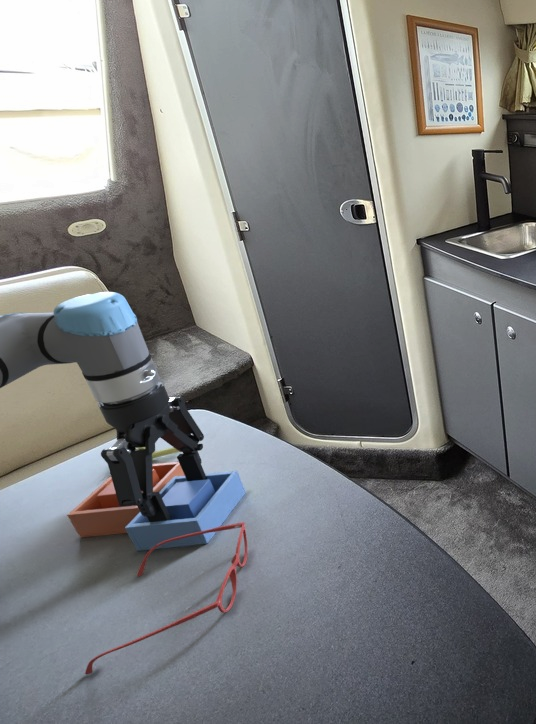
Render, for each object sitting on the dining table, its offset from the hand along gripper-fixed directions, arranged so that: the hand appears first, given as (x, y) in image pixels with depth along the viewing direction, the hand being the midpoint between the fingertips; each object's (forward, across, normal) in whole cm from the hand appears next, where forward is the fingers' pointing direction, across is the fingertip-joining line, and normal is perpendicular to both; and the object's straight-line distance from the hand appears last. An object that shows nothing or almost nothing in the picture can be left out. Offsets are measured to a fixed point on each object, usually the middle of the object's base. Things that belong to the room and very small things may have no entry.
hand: (181, 503), depth 84 cm
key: (+4, +17, +19) cm, 26 cm away
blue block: (+3, 0, -1) cm, 3 cm away
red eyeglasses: (+4, -15, -9) cm, 18 cm away
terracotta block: (+3, +4, +11) cm, 12 cm away
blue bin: (+4, 0, -1) cm, 4 cm away
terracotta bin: (+4, +4, +11) cm, 12 cm away
